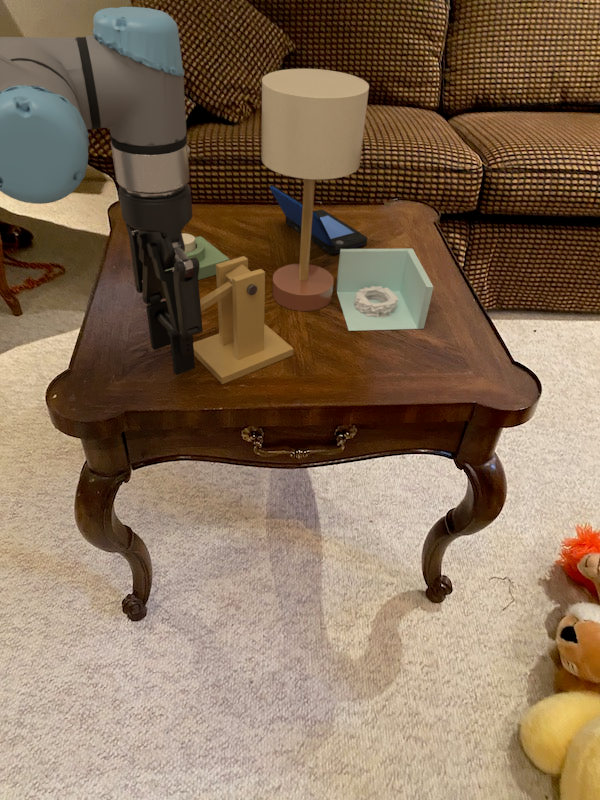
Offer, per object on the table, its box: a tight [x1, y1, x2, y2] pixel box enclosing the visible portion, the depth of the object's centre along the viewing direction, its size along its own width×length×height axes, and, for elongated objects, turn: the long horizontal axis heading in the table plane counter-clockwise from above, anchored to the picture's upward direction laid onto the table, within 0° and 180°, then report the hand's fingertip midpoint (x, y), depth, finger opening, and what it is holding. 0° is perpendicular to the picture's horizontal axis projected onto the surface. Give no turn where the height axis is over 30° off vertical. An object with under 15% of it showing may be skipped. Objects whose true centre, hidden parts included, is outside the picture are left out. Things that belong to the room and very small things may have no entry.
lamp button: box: [181, 232, 196, 253], centre depth 99 cm, size 4×4×2 cm
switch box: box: [165, 235, 231, 281], centre depth 101 cm, size 12×10×4 cm
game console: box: [269, 184, 369, 256], centre depth 110 cm, size 16×13×9 cm
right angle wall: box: [335, 247, 434, 332], centre depth 93 cm, size 12×12×8 cm
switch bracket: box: [193, 255, 295, 385], centre depth 80 cm, size 12×9×14 cm
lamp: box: [260, 68, 370, 312], centre depth 87 cm, size 14×14×32 cm
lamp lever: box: [155, 265, 252, 331], centre depth 76 cm, size 13×6×2 cm, turn 127°
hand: (173, 357), depth 77 cm, fingers closed on lamp lever, 5 cm apart
